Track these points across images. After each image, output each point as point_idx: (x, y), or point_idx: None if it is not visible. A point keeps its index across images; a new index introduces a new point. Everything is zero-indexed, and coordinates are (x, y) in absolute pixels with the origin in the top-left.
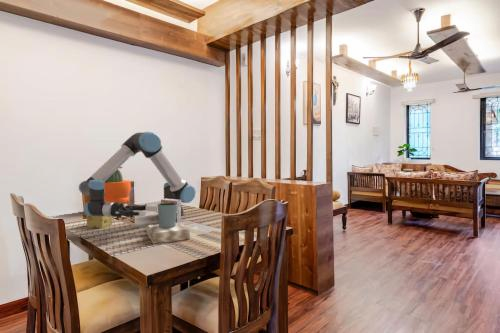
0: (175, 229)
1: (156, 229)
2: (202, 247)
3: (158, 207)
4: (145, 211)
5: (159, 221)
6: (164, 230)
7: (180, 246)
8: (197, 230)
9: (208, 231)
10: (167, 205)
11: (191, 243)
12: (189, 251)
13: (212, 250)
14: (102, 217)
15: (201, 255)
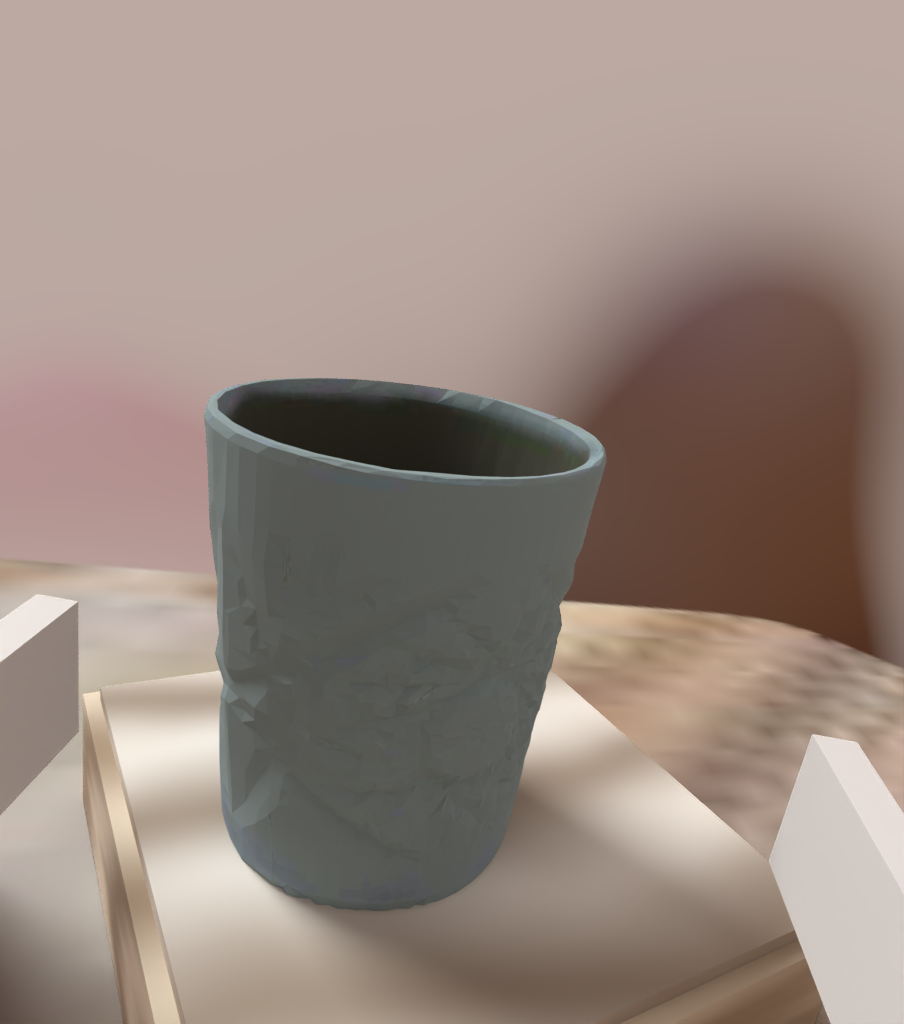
0: (541, 715)
1: (607, 920)
2: (699, 660)
3: (545, 536)
4: (845, 747)
5: (482, 797)
6: (629, 811)
7: (749, 771)
8: (136, 666)
9: (209, 610)
10: (584, 430)
11: (626, 708)
12: (833, 719)
13: (734, 627)
14: None
15: (863, 670)
